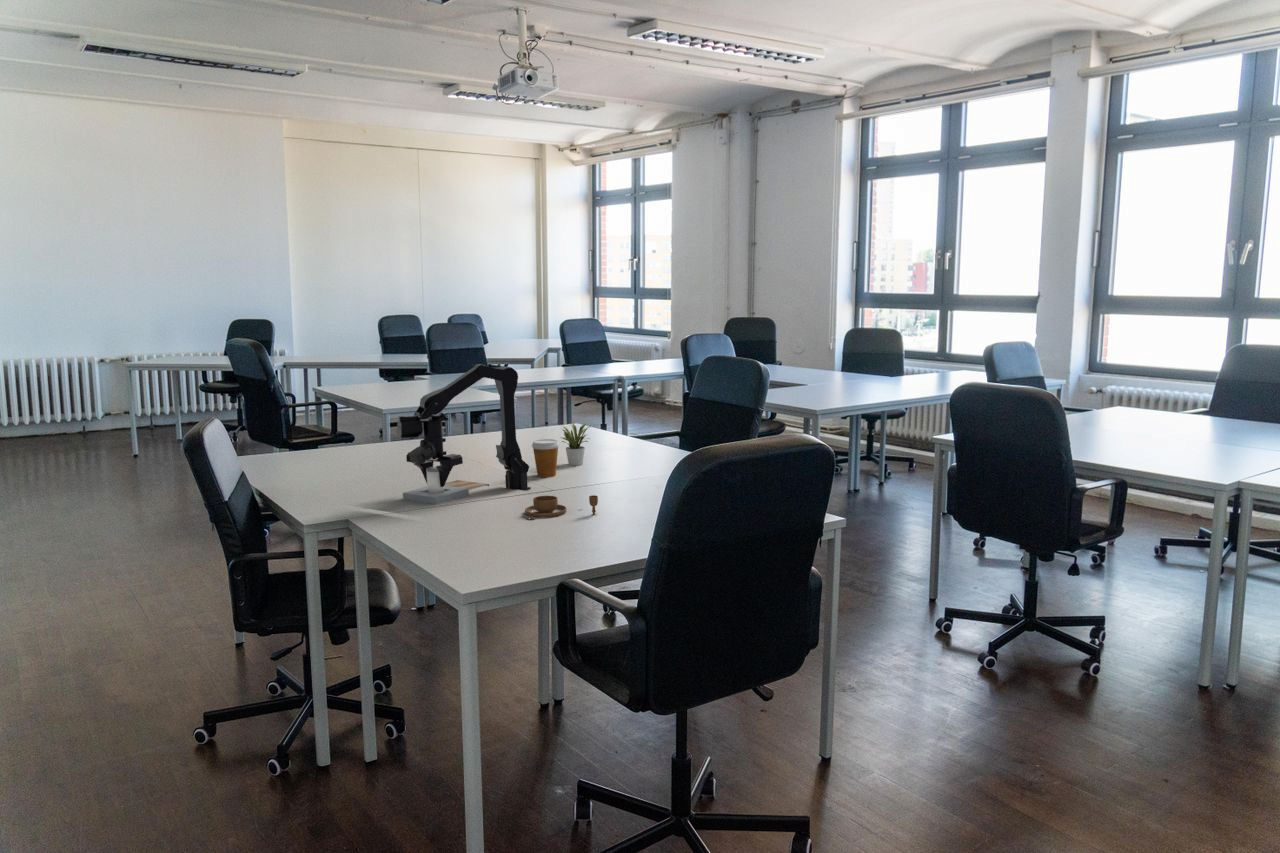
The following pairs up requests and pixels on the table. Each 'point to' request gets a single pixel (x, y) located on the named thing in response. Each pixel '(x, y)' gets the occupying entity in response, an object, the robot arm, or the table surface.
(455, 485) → the walnut board
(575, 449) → the house plant
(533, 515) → the place setting
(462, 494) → the frame
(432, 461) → the robot arm
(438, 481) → the cylinder
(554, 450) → the disposable coffee cup
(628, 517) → the table surface
